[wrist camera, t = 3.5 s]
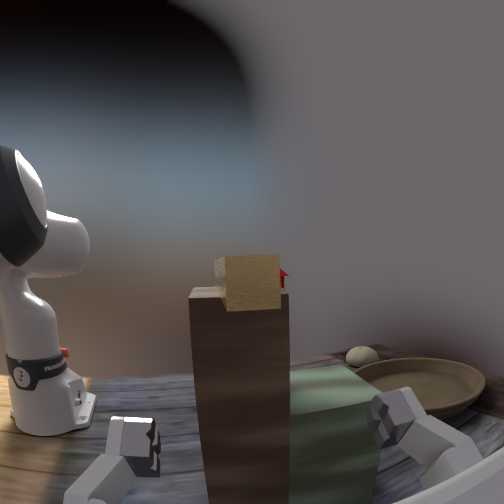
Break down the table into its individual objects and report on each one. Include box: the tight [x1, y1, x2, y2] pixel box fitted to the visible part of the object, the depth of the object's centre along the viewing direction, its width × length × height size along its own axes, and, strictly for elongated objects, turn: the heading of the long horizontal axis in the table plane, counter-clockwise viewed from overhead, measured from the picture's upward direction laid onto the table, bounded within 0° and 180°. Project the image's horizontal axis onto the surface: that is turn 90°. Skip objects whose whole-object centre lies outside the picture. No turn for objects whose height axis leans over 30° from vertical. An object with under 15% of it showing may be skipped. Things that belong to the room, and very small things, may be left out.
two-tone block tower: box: [189, 287, 382, 504], centre depth 32 cm, size 12×18×27 cm, turn 98°
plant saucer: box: [353, 358, 486, 420], centre depth 57 cm, size 31×31×5 cm
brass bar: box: [215, 255, 281, 312], centre depth 28 cm, size 20×3×3 cm, turn 8°
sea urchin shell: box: [346, 346, 378, 367], centre depth 84 cm, size 9×8×8 cm
